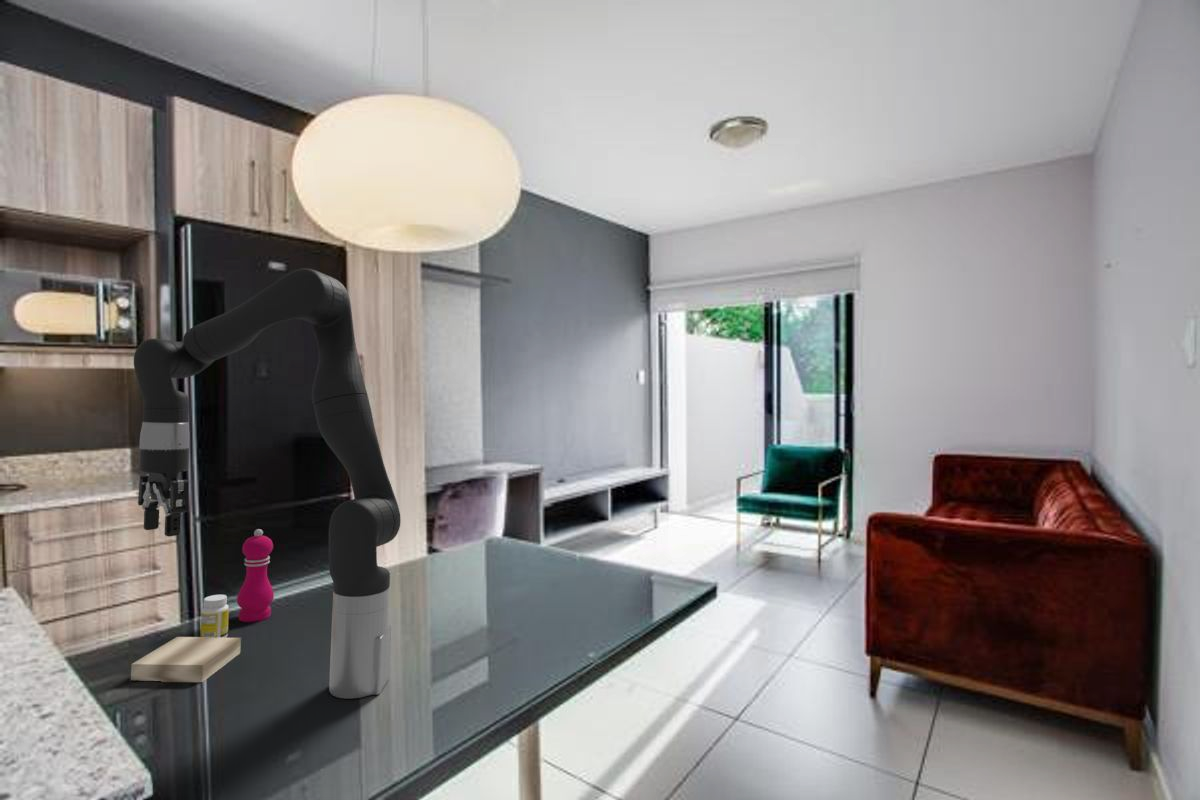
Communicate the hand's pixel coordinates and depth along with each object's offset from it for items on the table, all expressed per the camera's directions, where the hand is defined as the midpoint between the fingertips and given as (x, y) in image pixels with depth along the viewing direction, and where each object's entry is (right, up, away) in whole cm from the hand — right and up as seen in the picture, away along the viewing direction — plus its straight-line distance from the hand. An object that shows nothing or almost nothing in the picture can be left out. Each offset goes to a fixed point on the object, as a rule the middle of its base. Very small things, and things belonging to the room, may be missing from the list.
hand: (161, 532), depth 110 cm
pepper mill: (+4, -25, +23) cm, 34 cm away
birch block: (+7, -24, -2) cm, 25 cm away
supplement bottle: (+3, -25, +11) cm, 27 cm away
